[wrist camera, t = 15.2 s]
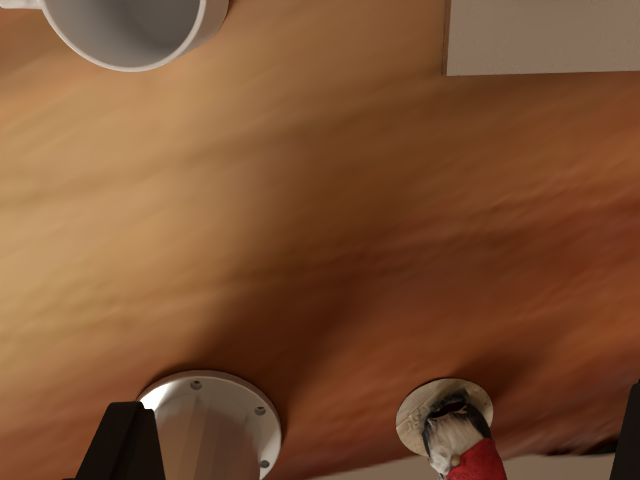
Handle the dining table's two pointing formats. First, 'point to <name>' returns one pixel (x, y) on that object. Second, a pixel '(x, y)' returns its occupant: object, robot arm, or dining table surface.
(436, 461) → the figurine
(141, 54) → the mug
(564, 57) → the square peg base
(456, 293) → the dining table surface
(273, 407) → the robot arm
